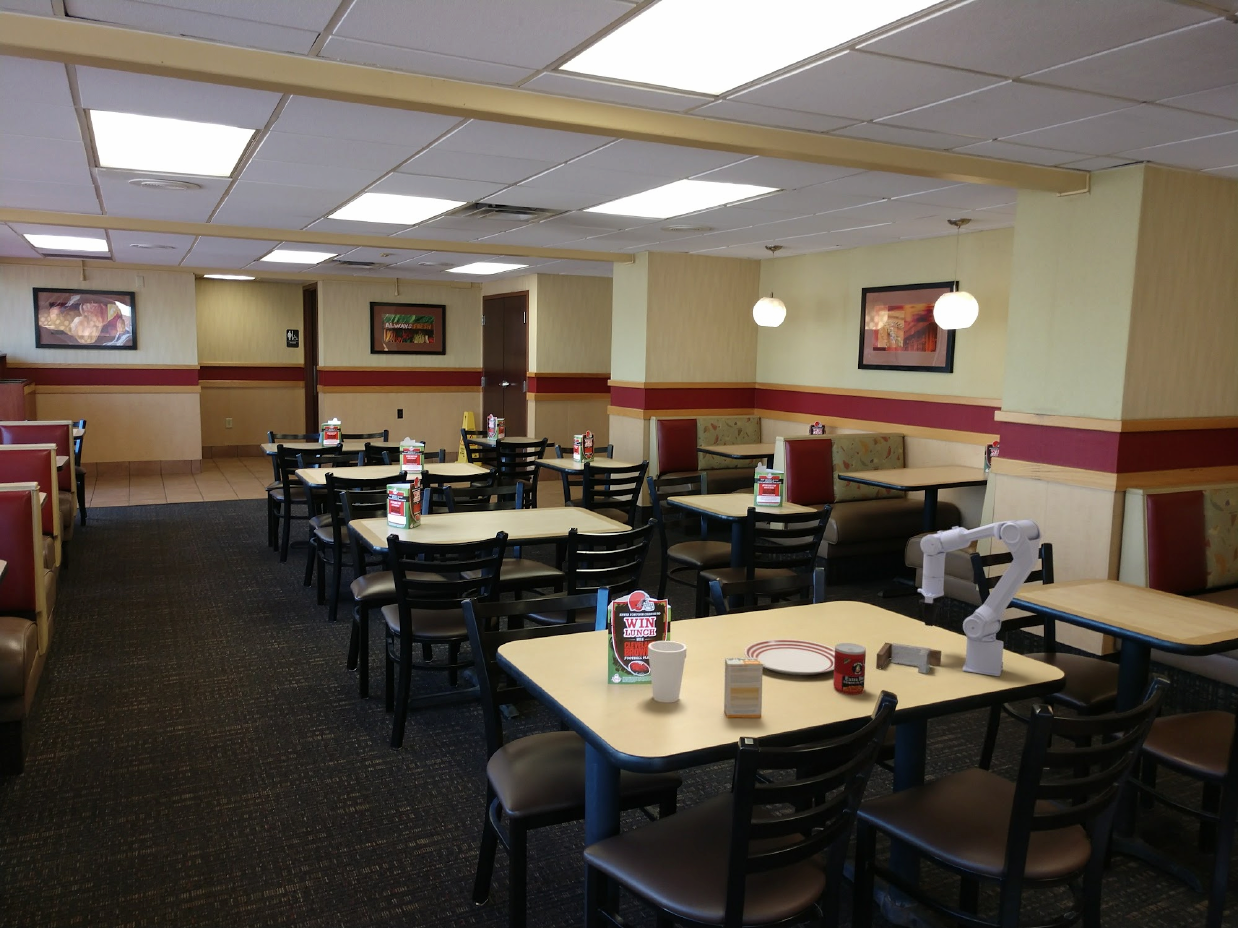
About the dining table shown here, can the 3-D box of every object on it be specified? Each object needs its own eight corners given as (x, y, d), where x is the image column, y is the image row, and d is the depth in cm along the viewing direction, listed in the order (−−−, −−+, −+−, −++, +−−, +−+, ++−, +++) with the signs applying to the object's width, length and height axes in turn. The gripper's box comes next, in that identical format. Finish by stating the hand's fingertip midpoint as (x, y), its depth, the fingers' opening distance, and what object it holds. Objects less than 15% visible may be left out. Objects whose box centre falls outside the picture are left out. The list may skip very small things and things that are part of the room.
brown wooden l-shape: (940, 664, 249) (941, 650, 249) (934, 677, 238) (935, 662, 238) (884, 656, 256) (885, 642, 256) (876, 667, 245) (876, 653, 245)
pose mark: (930, 666, 247) (930, 666, 247) (927, 673, 241) (927, 673, 241) (895, 661, 251) (895, 660, 251) (891, 667, 245) (891, 667, 245)
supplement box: (757, 710, 212) (759, 656, 211) (761, 718, 207) (763, 663, 206) (723, 710, 212) (724, 656, 210) (726, 718, 207) (727, 663, 206)
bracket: (929, 665, 247) (930, 648, 247) (925, 673, 241) (926, 655, 241) (892, 660, 252) (893, 642, 251) (887, 667, 246) (888, 649, 245)
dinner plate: (856, 682, 234) (857, 669, 234) (752, 680, 234) (752, 668, 233) (831, 650, 261) (831, 639, 261) (737, 649, 261) (738, 638, 261)
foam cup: (693, 698, 219) (694, 646, 218) (667, 707, 213) (668, 654, 211) (664, 688, 226) (665, 638, 225) (639, 697, 219) (640, 645, 218)
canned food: (843, 695, 223) (844, 652, 222) (827, 685, 231) (829, 643, 230) (870, 693, 225) (872, 650, 224) (853, 682, 233) (855, 641, 232)
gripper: (922, 569, 263) (920, 614, 264) (914, 578, 250) (912, 626, 251) (947, 572, 260) (945, 617, 261) (941, 581, 247) (938, 629, 248)
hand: (930, 622), depth 256 cm, fingers open, 7 cm apart
